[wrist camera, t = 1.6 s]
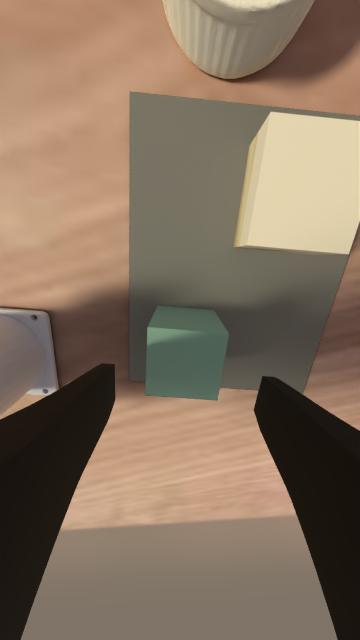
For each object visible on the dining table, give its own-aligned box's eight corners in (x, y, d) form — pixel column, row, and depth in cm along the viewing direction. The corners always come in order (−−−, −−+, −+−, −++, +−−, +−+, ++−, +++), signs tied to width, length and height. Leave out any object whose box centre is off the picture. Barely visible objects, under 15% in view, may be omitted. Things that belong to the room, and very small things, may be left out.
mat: (130, 379, 18) (129, 381, 17) (130, 95, 12) (129, 91, 11) (300, 391, 18) (302, 393, 18) (389, 122, 12) (394, 119, 12)
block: (155, 356, 17) (145, 395, 12) (157, 305, 15) (147, 327, 11) (207, 359, 17) (217, 400, 12) (214, 309, 15) (229, 333, 11)
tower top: (239, 246, 13) (246, 245, 11) (258, 131, 11) (270, 111, 9) (329, 254, 13) (348, 254, 11) (364, 142, 11) (392, 124, 9)
